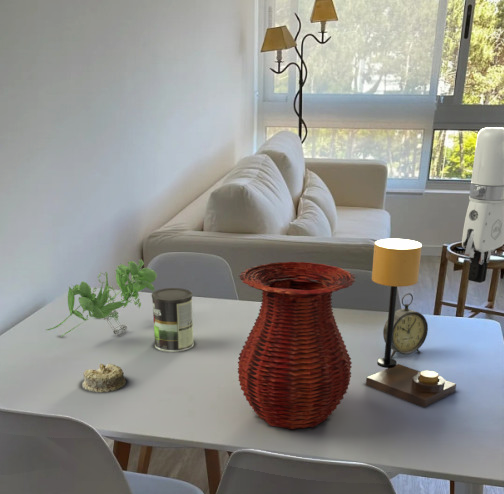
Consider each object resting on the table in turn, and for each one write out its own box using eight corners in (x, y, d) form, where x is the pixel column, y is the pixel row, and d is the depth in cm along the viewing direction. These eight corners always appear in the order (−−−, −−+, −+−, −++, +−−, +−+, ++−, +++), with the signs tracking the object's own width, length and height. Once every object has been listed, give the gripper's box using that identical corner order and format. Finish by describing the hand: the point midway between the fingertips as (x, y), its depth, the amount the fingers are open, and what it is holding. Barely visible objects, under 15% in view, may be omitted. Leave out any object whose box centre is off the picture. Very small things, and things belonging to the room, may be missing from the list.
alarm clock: (389, 361, 175) (395, 298, 168) (377, 354, 180) (383, 292, 173) (426, 355, 179) (433, 293, 172) (413, 348, 184) (420, 287, 177)
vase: (261, 384, 162) (263, 255, 149) (361, 402, 154) (372, 267, 141) (218, 428, 143) (216, 284, 130) (329, 450, 135) (339, 299, 122)
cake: (134, 386, 163) (134, 365, 160) (98, 400, 156) (97, 378, 154) (109, 371, 168) (108, 350, 166) (73, 383, 162) (71, 362, 159)
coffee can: (158, 354, 179) (155, 301, 173) (151, 341, 188) (148, 289, 182) (198, 350, 182) (196, 297, 176) (189, 337, 191) (187, 286, 184)
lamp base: (455, 392, 159) (457, 376, 157) (424, 408, 152) (426, 391, 150) (397, 372, 170) (398, 356, 168) (365, 385, 162) (366, 370, 160)
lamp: (417, 365, 163) (431, 244, 151) (391, 376, 157) (403, 251, 145) (382, 353, 170) (393, 236, 158) (356, 363, 164) (365, 243, 152)
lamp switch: (441, 381, 156) (442, 374, 155) (430, 386, 154) (431, 378, 153) (426, 375, 159) (426, 368, 158) (415, 380, 156) (416, 373, 155)
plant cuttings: (57, 376, 183) (110, 337, 171) (18, 321, 181) (69, 277, 169) (130, 333, 212) (180, 297, 200) (97, 285, 210) (146, 246, 198)
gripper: (486, 199, 136) (473, 291, 144) (524, 190, 145) (510, 278, 153) (452, 194, 141) (441, 284, 149) (491, 186, 150) (479, 271, 158)
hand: (476, 280), depth 151 cm, fingers closed
